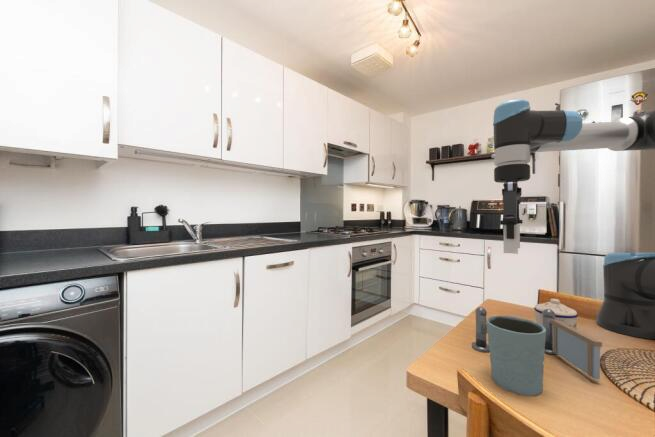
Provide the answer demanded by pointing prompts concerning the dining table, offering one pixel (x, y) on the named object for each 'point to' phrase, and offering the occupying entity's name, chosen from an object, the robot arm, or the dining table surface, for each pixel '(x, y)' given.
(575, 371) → the dining table surface
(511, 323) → the blue-grey pot
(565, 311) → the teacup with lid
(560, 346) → the gate
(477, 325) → the post
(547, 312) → the hinge post
